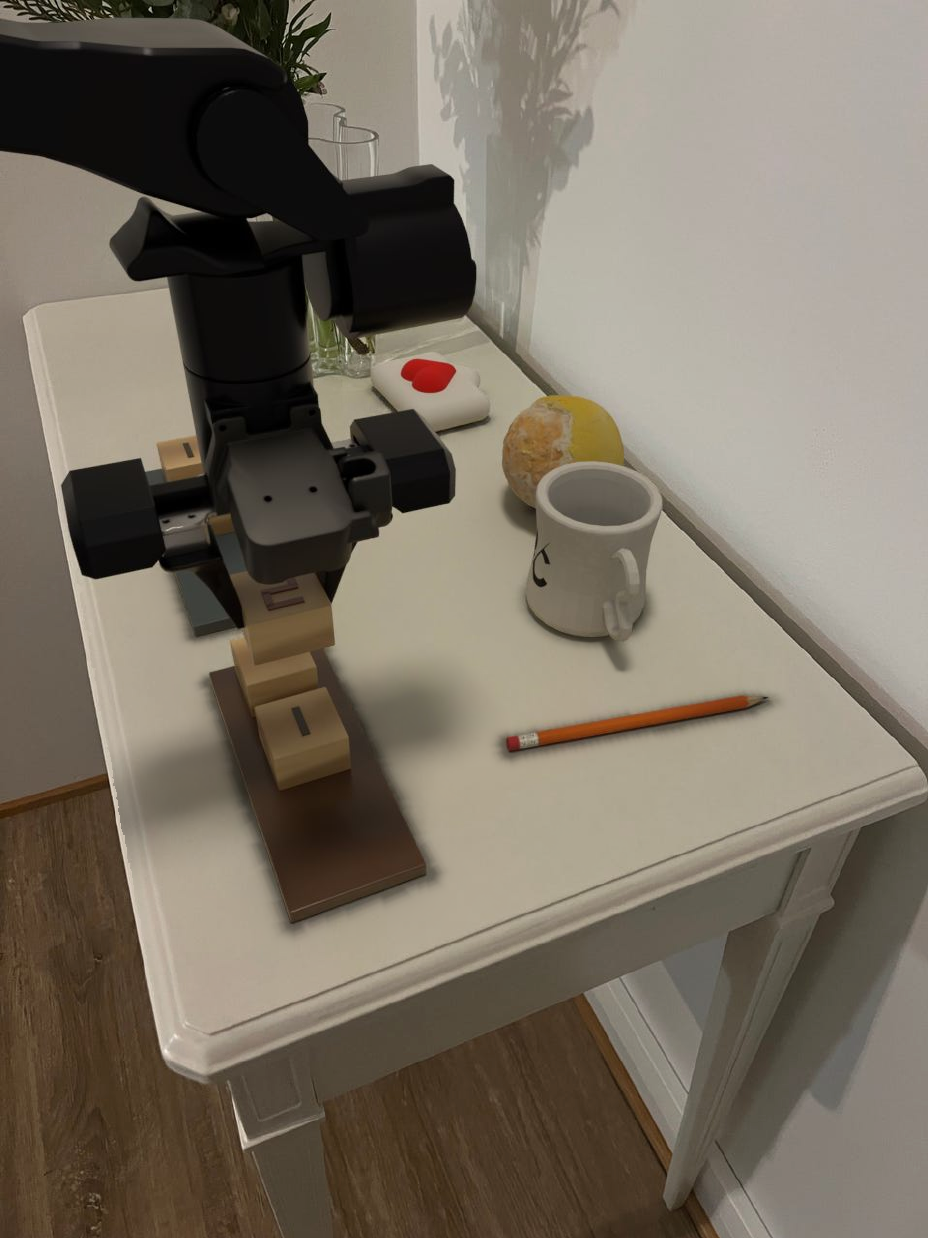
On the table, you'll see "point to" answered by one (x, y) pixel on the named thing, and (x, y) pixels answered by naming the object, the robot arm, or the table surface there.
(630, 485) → the mug
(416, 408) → the icon
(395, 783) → the table surface
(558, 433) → the fruit
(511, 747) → the pencil
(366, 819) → the strip
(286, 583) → the number block
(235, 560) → the back word strip
